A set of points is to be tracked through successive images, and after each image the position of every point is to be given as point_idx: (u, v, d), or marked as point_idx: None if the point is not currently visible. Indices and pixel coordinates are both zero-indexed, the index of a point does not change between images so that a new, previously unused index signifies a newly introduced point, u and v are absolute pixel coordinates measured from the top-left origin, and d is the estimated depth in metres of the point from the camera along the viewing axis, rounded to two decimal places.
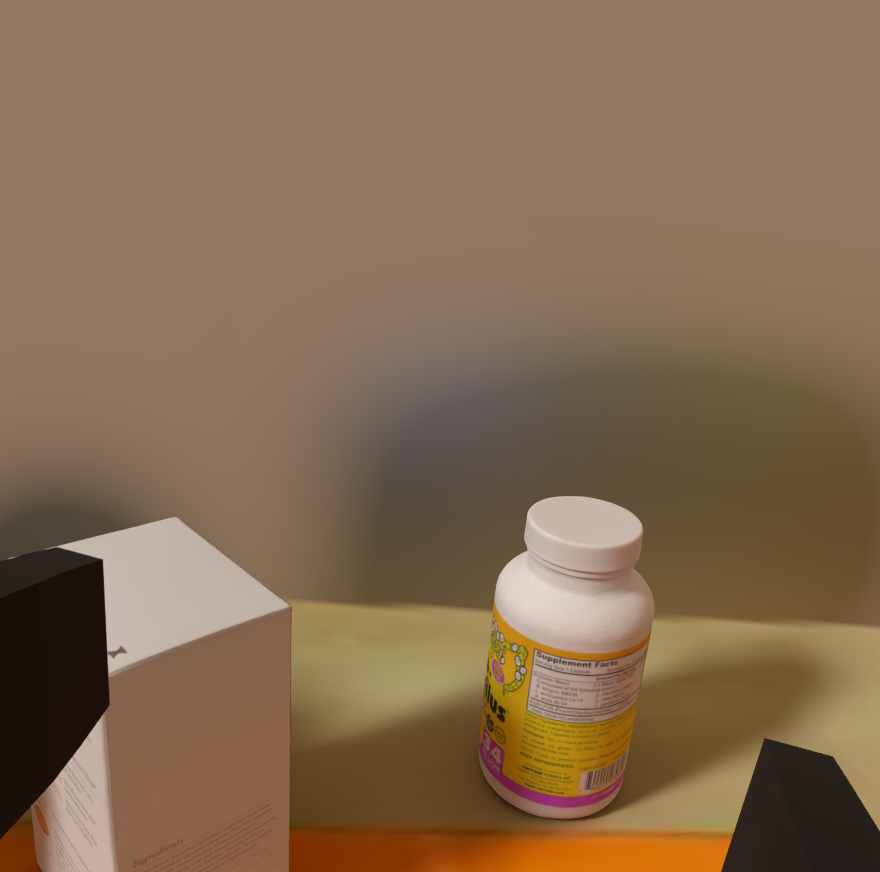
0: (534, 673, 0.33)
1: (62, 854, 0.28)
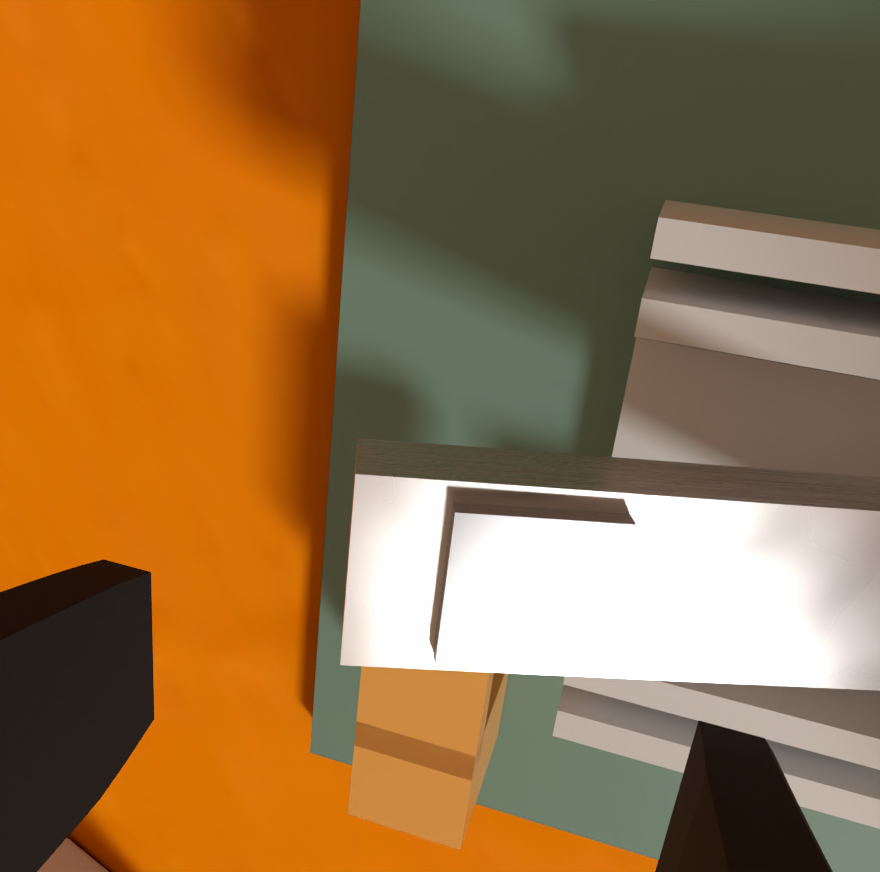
0: None
1: None
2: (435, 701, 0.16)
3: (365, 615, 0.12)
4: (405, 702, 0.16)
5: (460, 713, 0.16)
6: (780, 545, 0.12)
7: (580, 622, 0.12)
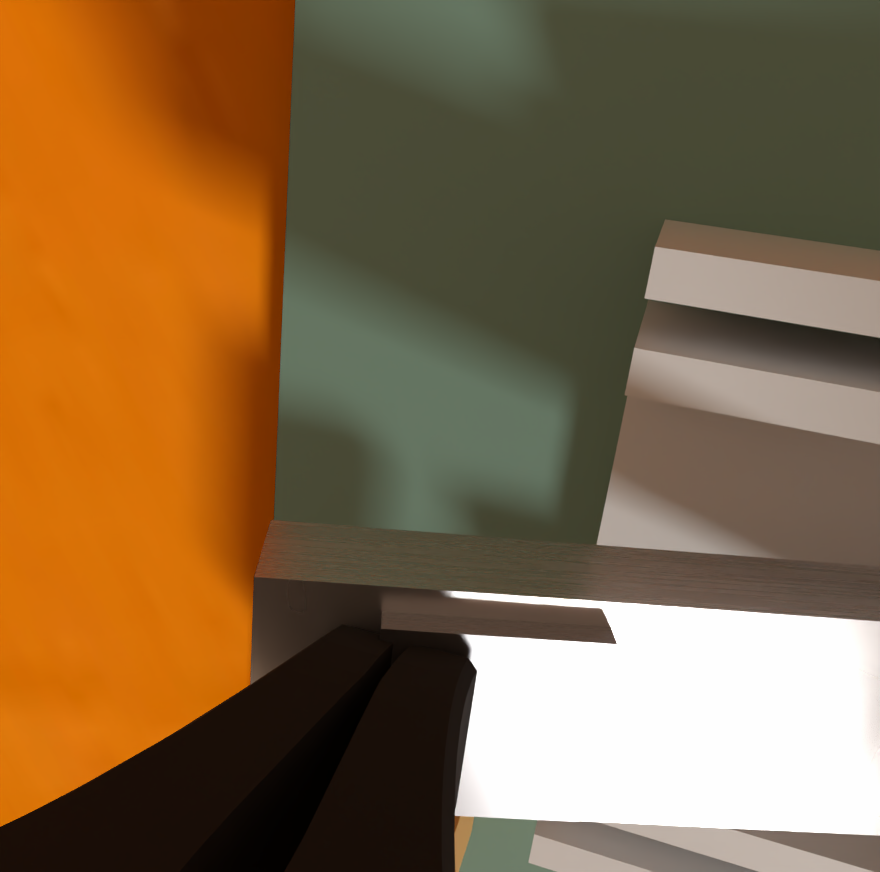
0: None
1: None
2: None
3: None
4: None
5: None
6: (805, 666, 0.09)
7: (547, 761, 0.09)
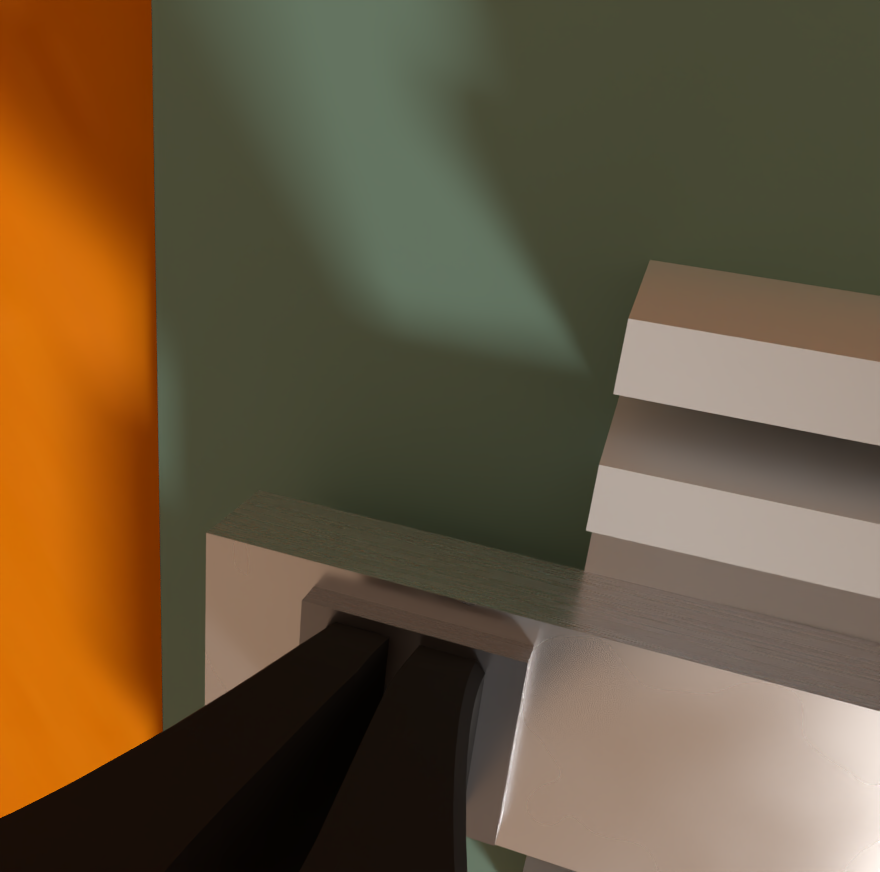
0: None
1: None
2: None
3: None
4: None
5: None
6: (755, 736, 0.08)
7: None
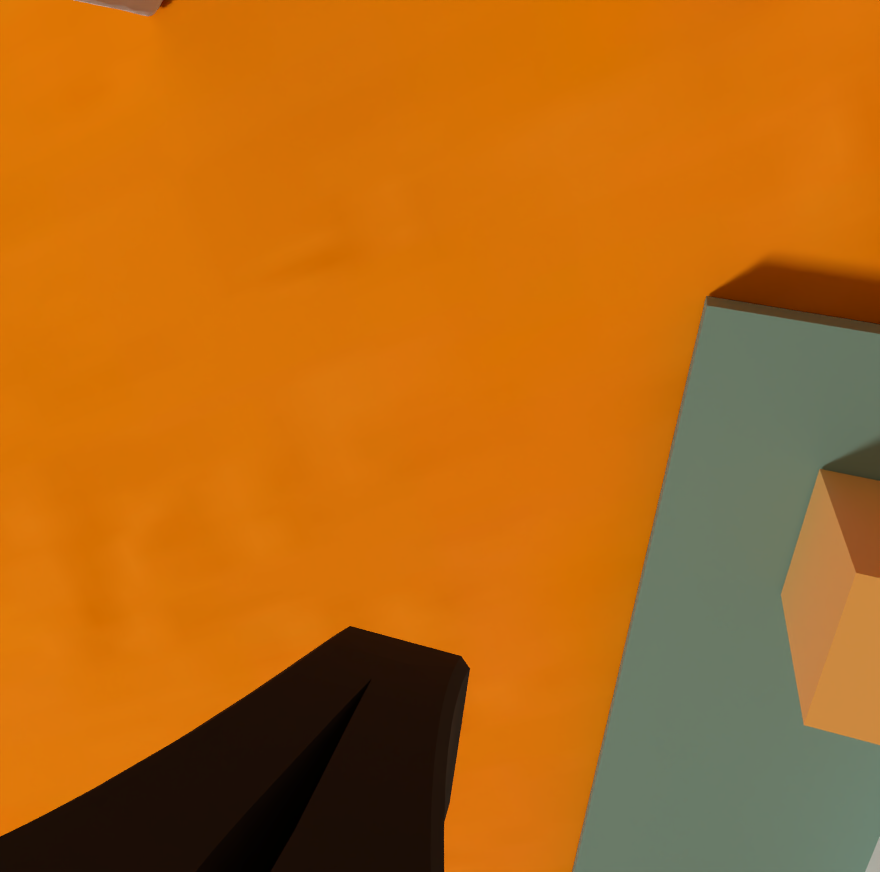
0: None
1: None
2: None
3: None
4: None
5: None
6: None
7: None
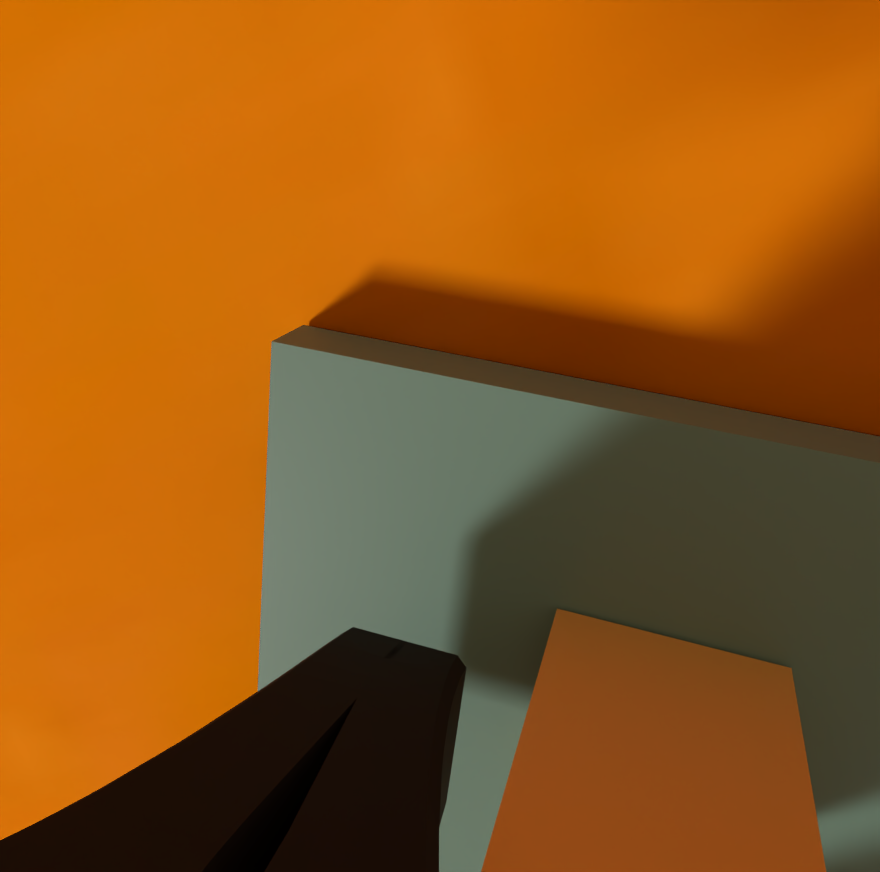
0: None
1: None
2: None
3: None
4: None
5: None
6: None
7: None
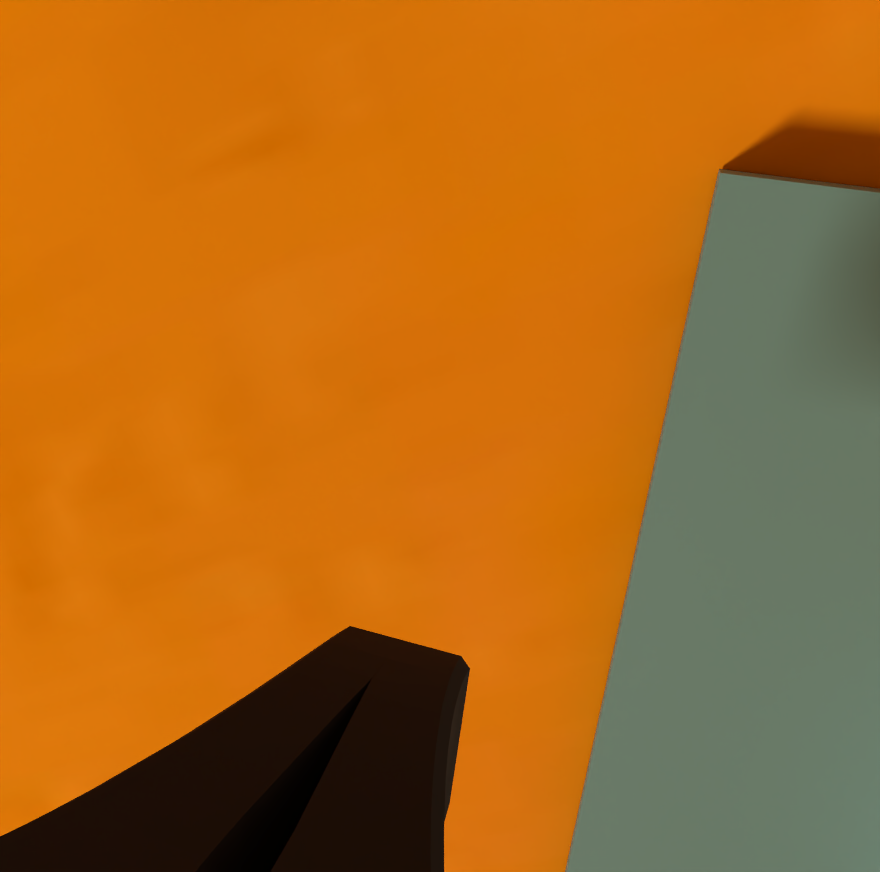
0: None
1: None
2: None
3: None
4: None
5: None
6: None
7: None
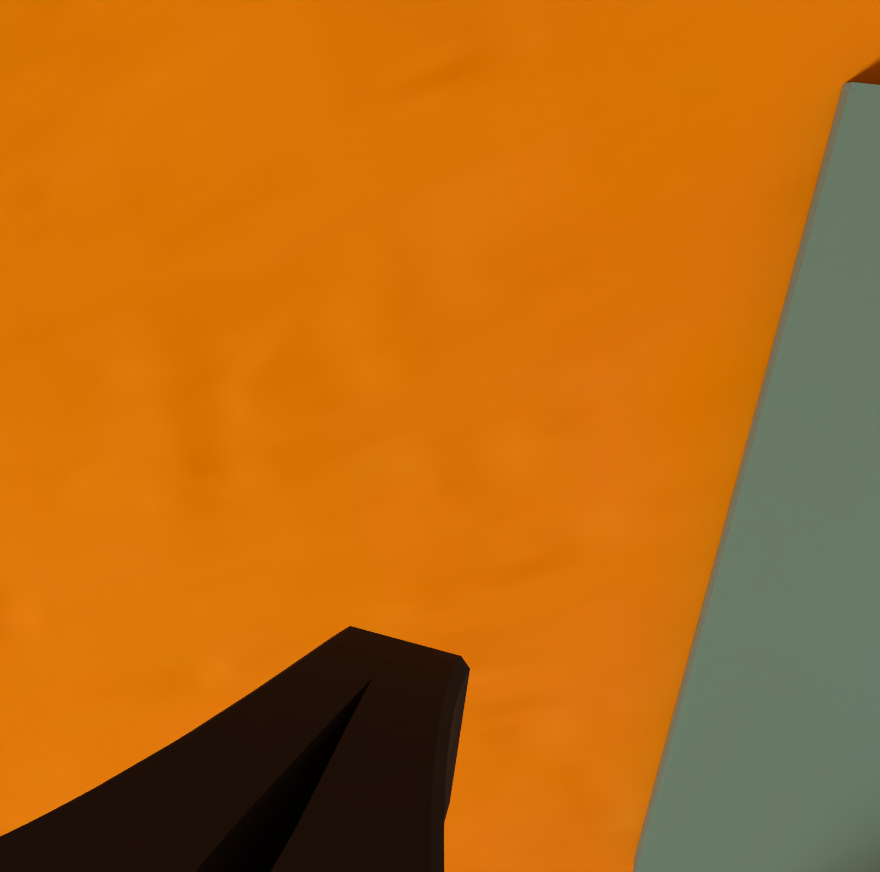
0: None
1: None
2: None
3: None
4: None
5: None
6: None
7: None
